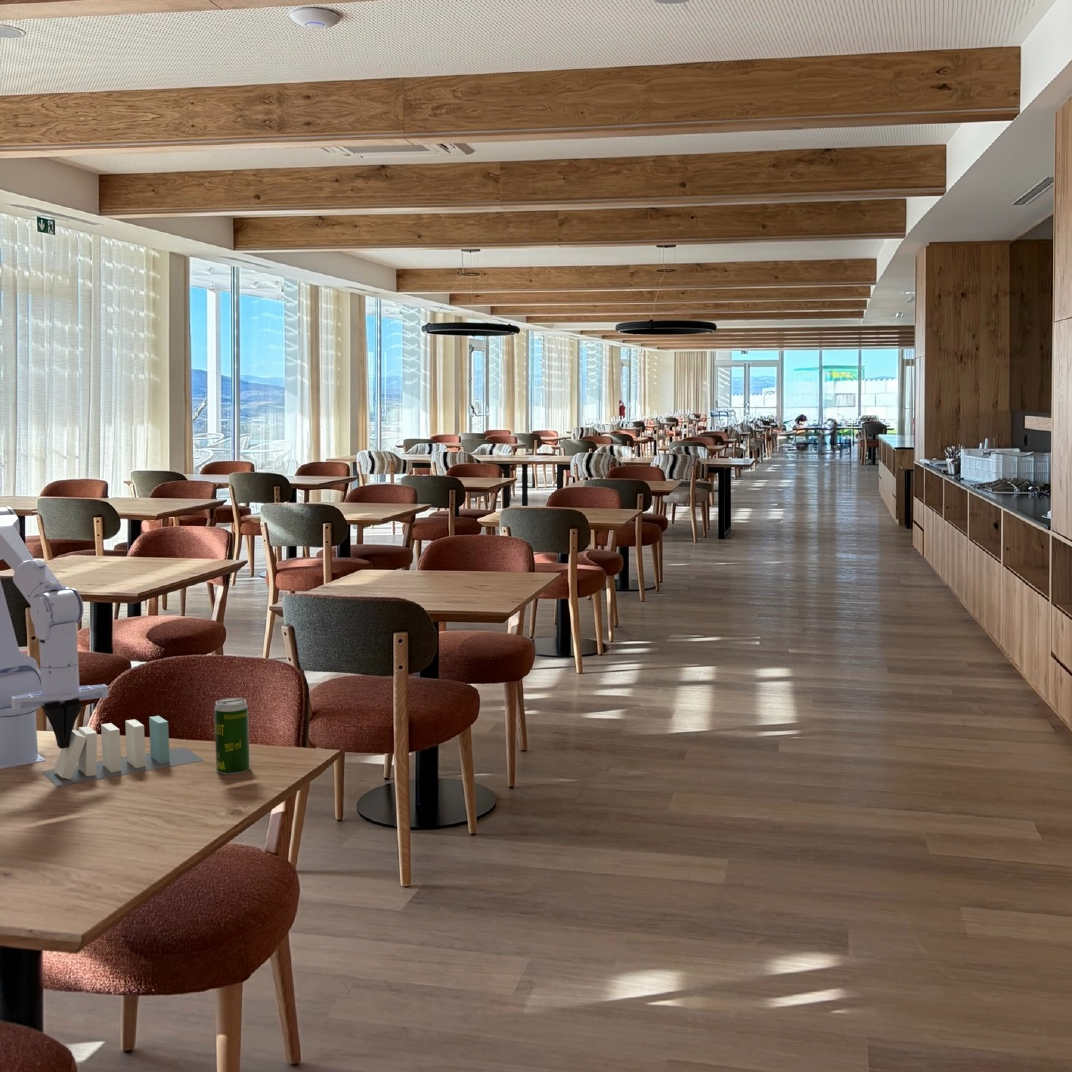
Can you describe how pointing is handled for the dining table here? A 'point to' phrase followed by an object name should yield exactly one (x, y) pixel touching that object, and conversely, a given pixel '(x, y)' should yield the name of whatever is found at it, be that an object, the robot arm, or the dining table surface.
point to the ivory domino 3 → (111, 747)
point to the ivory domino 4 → (135, 743)
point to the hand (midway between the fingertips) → (63, 746)
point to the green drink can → (232, 736)
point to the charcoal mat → (125, 767)
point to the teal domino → (159, 739)
